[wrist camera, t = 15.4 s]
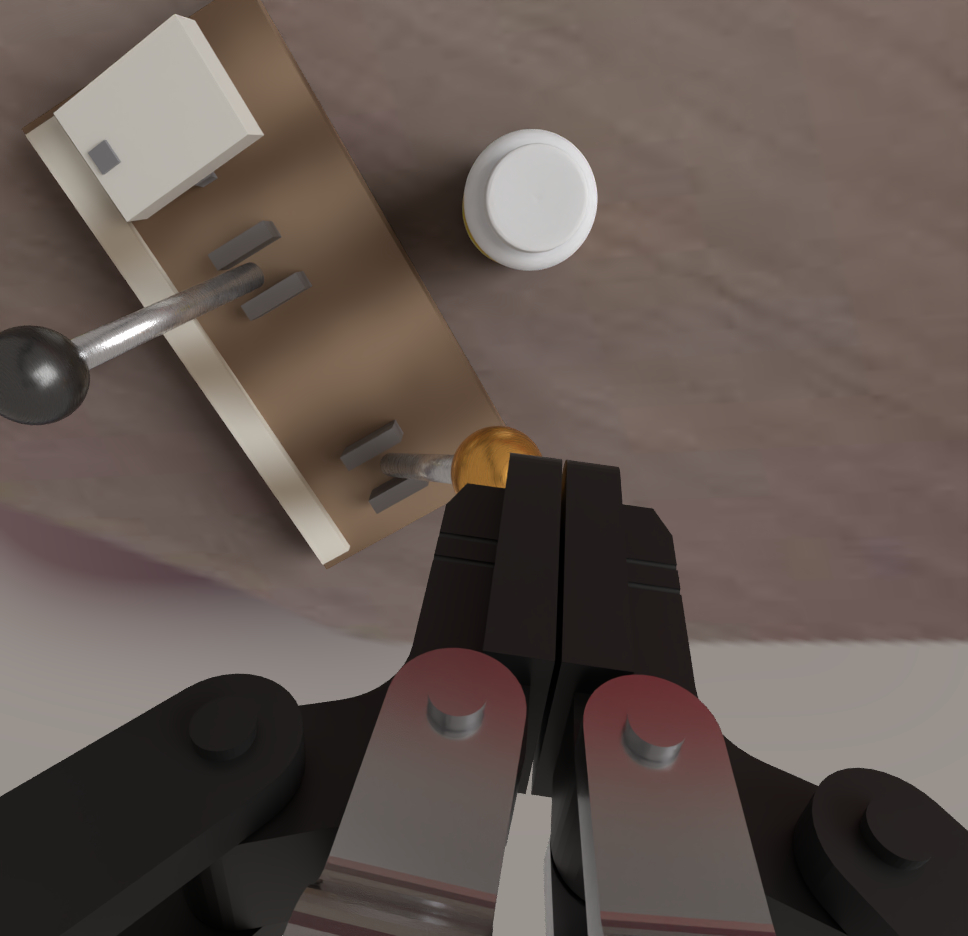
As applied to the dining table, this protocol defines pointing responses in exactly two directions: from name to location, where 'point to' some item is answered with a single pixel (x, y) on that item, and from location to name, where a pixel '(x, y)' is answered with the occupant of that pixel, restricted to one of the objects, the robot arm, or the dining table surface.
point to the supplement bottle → (529, 200)
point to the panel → (296, 303)
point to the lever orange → (465, 460)
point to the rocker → (159, 119)
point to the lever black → (97, 348)
